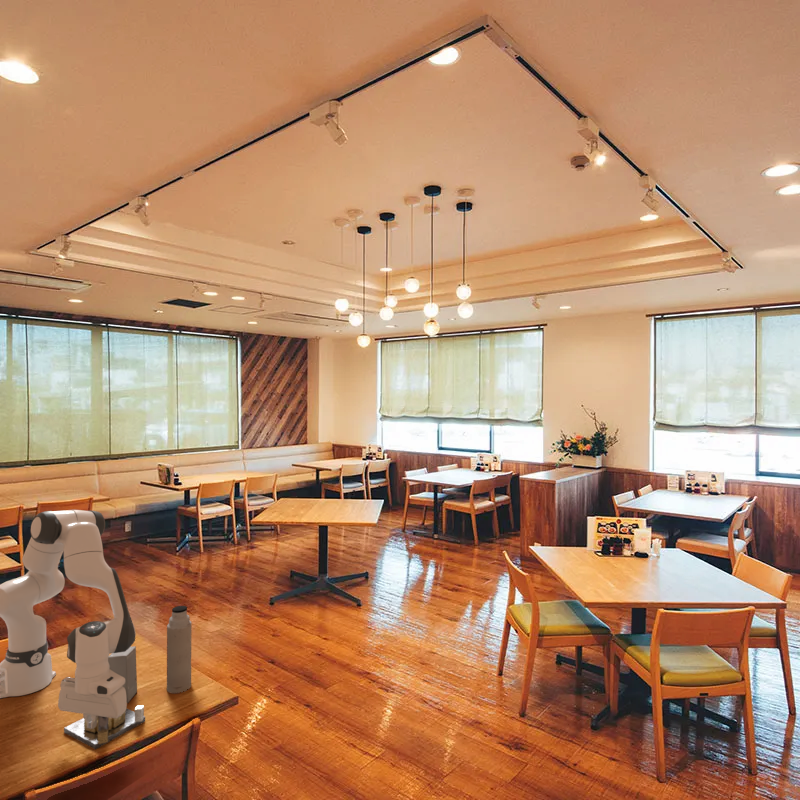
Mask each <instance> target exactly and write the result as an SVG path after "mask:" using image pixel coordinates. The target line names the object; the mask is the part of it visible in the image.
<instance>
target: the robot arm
mask: <svg viewBox="0 0 800 800" xmlns="http://www.w3.org/2000/svg"><path fill="white" fill-rule="evenodd" d="M105 528H106V520H105V517H104V515H103V513H101V512H100V511H97V510H83V509H82V510H81V509H68V510H66V509H65V510H54V511H52V510H45V511H42V512H38V513H37V514H36V515H35V516H34V518H33V519H32V521H31V524H30V536H31V537H30V539H29V542H28V544H27V547H26V548H25V551H24V553H23V556H22V559H21V560H22V564H23V566H24V568H25V569H26V570H28V571H27V572H26V573H25V574H24V575H22V576H19V577H17V578H12V579H10V580H7V581H5V582H3V583H0V618H1V619H2V620H3V621H4V623H5V625H6V628H7V639H8V644H7V645H8V647H6V648H5V657H4V659H3V660H2V661H1V662H0V699H3V698H8V697H20V696H26V695H29V694H32V693H35V692H38V691H40V690H42V689H44V688H46V687H47V686H49V685H50V684H51V683H52V681H53V678H54V677H56V675H57V673H56V671H54V670H53V664H52V663H53V662H52V655H51V654H50V653H49V652H48V651H49V649H48V648H49V644H48V640H47V622H46V619H45V618H44V617H43V616H40V615H38V614H35V613H34V606H36V605H38V604H41V603H42V602H43V603H44V602H45V601H48V600H50V599H52V598H54V597H56V596H57V595H58V594H59V593H61V592H62V591H63V589H64V587H65V582H66V581H65V580H66V579H65V576H66V578H67V579H68V580H70V582H72V583H73V584H75V585H79V586H82V587H86V588H87V587H89V588H94V589H99V590H101V591H103V592H104V593H106V594H107V596H108V599H109V603H110V607H111V610H112V614H113V619H111V620H107V621H101V620H94V621H88V622H86V623H84V624H82V625H81V626H78V627H75V628H74V629H73V630H72V631H71V632H70V633H69V634H68V635H67V638H66V639H67V652H66V657H67V658H66V659H68V660H70V661H71V662H72V663H74V664H75V663H76V668H75V671H74V677H71V676H67V677H65V678H63V679H61V681H60V690H59V694H58V701H57V703H58V704H57V706H58V709H59V711H61V712H70V713H76V714H80V715H81V714H82V718H84V719H85V721H86V723H87V728H91V729H94V728H95V727H96V726H97V720H98V716H102V717H109V718H115V719H116V718H118V717H120V716H121V715H122V714H123V713H124V712H125V711H126V708H127V706H128V703H127V699H126V691H125V688H124V687H123V685H124V684H125V678H124V677H122V676H120V675H118V674H116V673H115V672H113V671H112V670H110V669H109V663H108V657H109V656H110V655H111V654H112V653H119V652H125V651H126V650H128V649H129V648H130V647H132V645H133V644H134V643H135V641H136V633H137V632H136V628H135V624H134V622H133V619H132V617H131V615H130V614H131V613H130V611H129V608H128V605H127V601H126V598H125V593H124V589H123V588H122V587H123V586H122V583H121V581H120V578H119V574H118V572H117V571H116V569H115V568H114V567H110V566H109V564H108V563H107V562H106V560H105V557H104V549H103V548H104V547H103V543H102V542H103V541H102V538H101V536H102V535H103V534H104V532H105ZM62 556H63V568H64V573H65V576H64V574H63V573H62V572H61V571H60V569H59V563H60V561H61V558H62Z"/></svg>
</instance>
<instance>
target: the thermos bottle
mask: <svg viewBox="0 0 800 800" xmlns="http://www.w3.org/2000/svg"><path fill="white" fill-rule="evenodd" d="M187 610H188V606H186V605H177V606H174V607H172V608H171V616H170V617H169V619H168V624H167V625H166V690H167V692H168V693H170V694H181V693H184V692H186V691H188V690H189V689H190V688H191V687H192V621H191V620H190V618H191V617H190V615H189V614H188V613H187V612H188V611H187ZM187 689H188V690H187ZM183 691H184V692H183ZM180 692H181V693H180Z"/></svg>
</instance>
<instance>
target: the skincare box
mask: <svg viewBox="0 0 800 800" xmlns="http://www.w3.org/2000/svg"><path fill="white" fill-rule="evenodd" d="M108 663H109V669H110V670H112V671H113V672H115V673H116V674H118V675H120V676H122V677H124V678H125V684H124V685H123V687H124V688H125V691H126V699H127V704H129V703H130V701H131V700H132V698H133V697H134V696H135V695H136V693H137V692H138V678H137V673H138V672H137V646H131V647H130V648H129V649H128V650H126V651H125V652H119V653H111V654H109V657H108Z"/></svg>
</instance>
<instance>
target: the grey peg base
mask: <svg viewBox="0 0 800 800" xmlns="http://www.w3.org/2000/svg"><path fill="white" fill-rule="evenodd" d="M144 714H145V705H143V704H142V705H136V706H135V708H134V711H133V710H131V709H129V708H127V707H126V711H125V720H124V722H122V723H121V724H120V725H118V726H117V727H115V728H112V729H111V730H109V733H108V742H106V743H102V744H98V732H97V731H96V732H95V733H94V732H91V731H87V730H85V729H84V717H82V718H81V719H79V720H76V721H75V722H73V723H71V724H69V725H67V726H64V728H63V733H64V735H65V734H66V735H67V736H69V737H72V738H73V739H75V740H77V741H79V742H81V743H83V744H84V745H85V746H86V745H87V746H88V747H90V748H91V749H94V750H97V749H99V748H101V747H103V746H104V745H106V744H108V743H110V742H112V741H114V740H115V739H117V738H119V737H120V736H122V735H124V734H126V733H127V732H130V731H131V730H133V729H134V728H137V726H140V725H141V724H143V723H146V716H145V715H144Z"/></svg>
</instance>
